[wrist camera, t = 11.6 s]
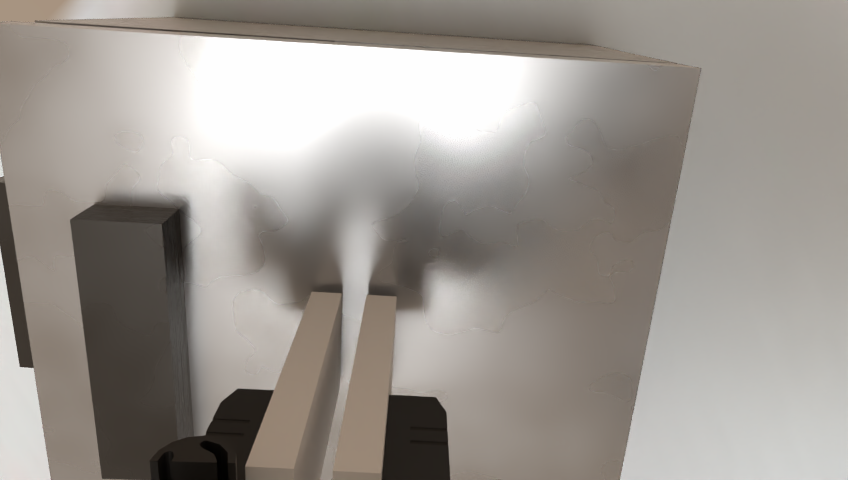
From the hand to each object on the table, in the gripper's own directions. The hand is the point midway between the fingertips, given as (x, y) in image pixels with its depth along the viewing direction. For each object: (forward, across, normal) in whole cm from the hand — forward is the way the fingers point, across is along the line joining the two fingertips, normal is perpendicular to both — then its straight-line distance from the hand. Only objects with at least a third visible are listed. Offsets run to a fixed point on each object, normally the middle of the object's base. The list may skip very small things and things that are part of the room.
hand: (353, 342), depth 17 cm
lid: (+1, 0, 0) cm, 2 cm away
